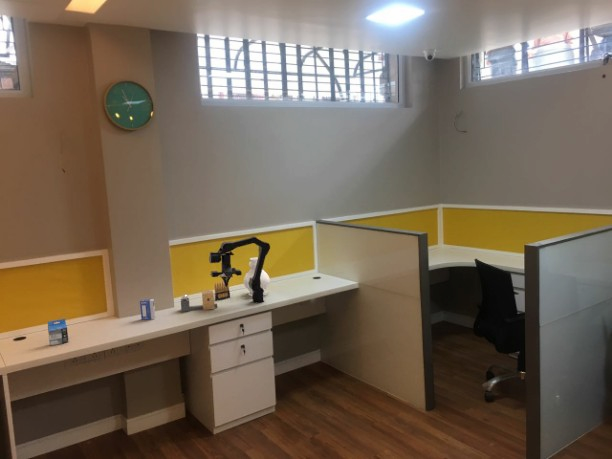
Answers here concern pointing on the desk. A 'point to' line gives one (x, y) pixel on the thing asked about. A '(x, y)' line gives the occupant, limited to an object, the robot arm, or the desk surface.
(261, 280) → the decorative vase
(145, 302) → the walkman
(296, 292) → the desk surface
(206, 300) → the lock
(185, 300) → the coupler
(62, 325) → the label tape cartridge
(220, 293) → the ammunition clip
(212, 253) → the robot arm
